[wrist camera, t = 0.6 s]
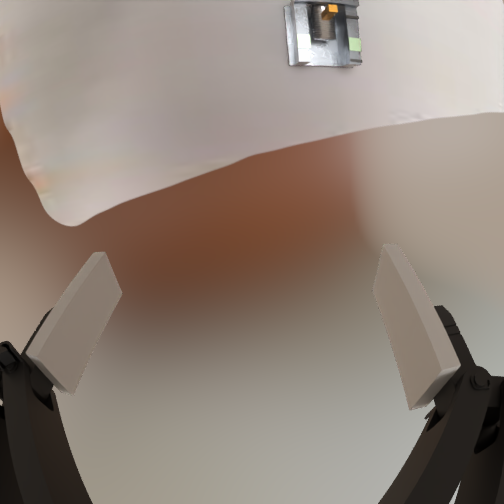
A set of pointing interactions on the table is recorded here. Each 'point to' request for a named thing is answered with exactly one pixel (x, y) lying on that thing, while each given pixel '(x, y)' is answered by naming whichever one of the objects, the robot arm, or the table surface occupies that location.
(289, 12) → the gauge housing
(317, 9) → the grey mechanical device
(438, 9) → the table surface
